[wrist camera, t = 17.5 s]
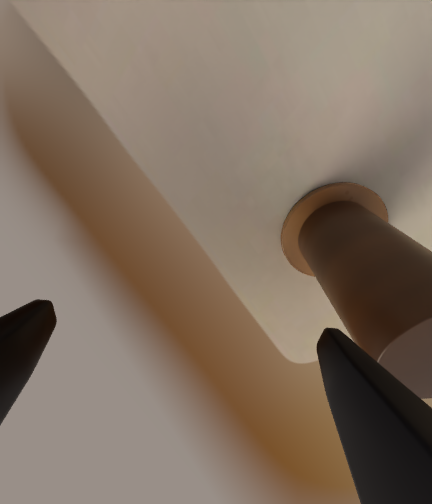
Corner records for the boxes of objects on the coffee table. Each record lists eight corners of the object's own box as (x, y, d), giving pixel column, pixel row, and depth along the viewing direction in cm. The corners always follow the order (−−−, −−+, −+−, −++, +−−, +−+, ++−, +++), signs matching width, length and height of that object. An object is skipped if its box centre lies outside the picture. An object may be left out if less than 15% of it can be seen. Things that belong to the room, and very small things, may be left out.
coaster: (319, 288, 23) (322, 292, 22) (260, 235, 20) (261, 238, 19) (402, 229, 20) (408, 232, 19) (346, 157, 17) (350, 159, 16)
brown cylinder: (287, 257, 20) (349, 389, 11) (317, 192, 18) (437, 290, 8) (348, 271, 21) (459, 406, 11) (386, 210, 18) (574, 320, 9)
